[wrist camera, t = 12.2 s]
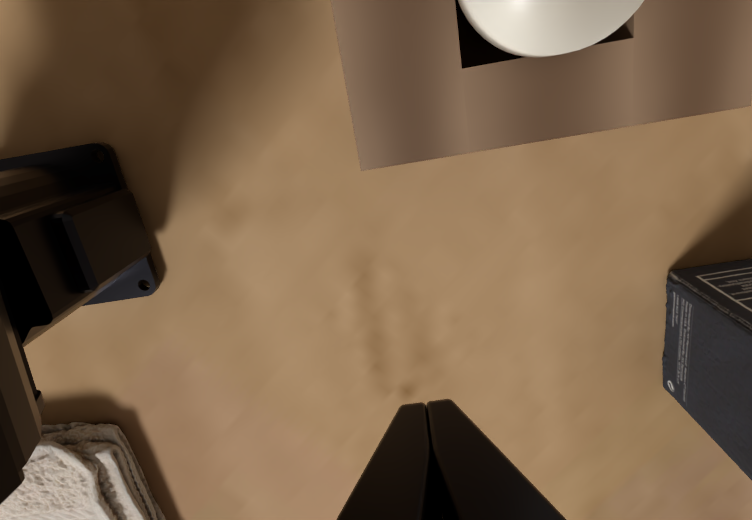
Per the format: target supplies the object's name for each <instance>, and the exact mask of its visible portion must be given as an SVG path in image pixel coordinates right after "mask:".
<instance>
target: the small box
mask: <svg viewBox="0 0 752 520" xmlns="http://www.w3.org/2000/svg"><path fill="white" fill-rule="evenodd" d="M666 290H667V291H666V293H667V303H666V307H667V312H666V329H665V340H664V341H665V347H664V355H663V358H662V360H663V364H662V365H663V387H664V389H666V390H667V391H668V392H669V393H670V394H671V395H672V396H673V397H674V398H675V399H676V400H677V402H678V403H679V404H680V405H681V406H682V407H683V408H684V409H685V410H686V411H687V412H688V413H689V414H690V415H691V416H692V418H693V419H694V420H695V421H696V422H697V423H698V424H699V425H700V426H701V427H702V428H703V429H704V430H705V431H706V432H707V433H708V434H709V435H710V436H711V438H712V439H713V440H714V441H715V442H716V443H717V444H718V445H719V446H720V447H721V448H722V449H723V450H724V451H725V452H726V454H727V455H728V456H729V457H730V458H731V459H732V460H733V461H734V462H735V463H736V464H737V465H738V466H739V467H740V469H741V470H742V471H743V472H744V473H745V474H746V475H747V476H748V477H749V478H750V479H751V480H752V259H747V260H741V261H734V262H726V263H720V264H713V265H706V266H700V267H693V268H687V269H680V270H672V271H671V272H670V274H669V275H668V278H667V284H666Z"/></svg>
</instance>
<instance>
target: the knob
mask: <svg viewBox="0 0 752 520" xmlns="http://www.w3.org/2000/svg"><path fill="white" fill-rule="evenodd" d="M643 1H644V0H458V2H459V5H460V7H461V9H462V11H463V13H464V15H465V17H466V19H467V20H468V22H469V23H470V24H471V26H472V27H473V28H474V29H475V30H476V31H477V32H478V33H479V34H480V35H481V36H482V37H483V38H484V39H485V40H487V41H488V42H489V43H491V44H492V45H494V46H495V47H497V48H499V49H501V50H503V51H505V52H508V53H511V54H514V55H518V56H524V57H539V58H540V57H549V56H555V55H560V54H564V53H569V52H573V51H577V50H580V49H583V48H586V47H588V46H591V45H593V44H595V43H597V42H599V41H600V40H602V39H604V38H606V37H607V36H609V35H610V34H611V33H613V32H614V31H616V30H617V29H618V28H619V27H620V26H622V25H623V24H624V23H625V22H626V21H627V20H628V19H629V18H630V17H631V16H632V15H633V14H634V13H635V12H636V10H637V9H638V8H639V7H640V6H641V4H642V3H643Z"/></svg>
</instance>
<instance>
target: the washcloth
mask: <svg viewBox="0 0 752 520" xmlns="http://www.w3.org/2000/svg"><path fill="white" fill-rule="evenodd" d="M22 469H23V472H24V474H25V479H24V481H23V482H22V484H21V485H20V486H19V487H18V488H17V489H16V490H15V491H14V492H13V493H12V494H11V495H10V496H9V497H8V498H7V499H6V500H5V501H4V502H3V503H2V504H1V505H0V520H166V519H165V517H164V515H163V513H162V511H161V509H160V508H159V506H158V504H157V503H156V502H155V500H154V498H153V496H152V494H151V491H150V489H149V486H148V484H147V482H146V479H145V477H144V474H143V472H142V470H141V467H140V465H139V464H138V462H137V459H136V457H135V455H134V453H133V451H132V449H131V447H130V445H129V443H128V441H127V439H126V437H125V435H124V434H123V433H122V431H121V429H120V428H119V427H118V426H117V425H112V424H98V425H93V424H88V423H82V422H72V423H70V424H69V425H65V424H57V425H41V440H40V441H39V443H38V445H37V446H36V448H35V450H34V452H33V453H32V455H31V457H30V458H29V460H28V462H27V464H26V465H25V466H24V467H23V468H22Z"/></svg>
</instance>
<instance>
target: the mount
mask: <svg viewBox="0 0 752 520" xmlns="http://www.w3.org/2000/svg"><path fill="white" fill-rule="evenodd" d="M331 4H332V10H333V16H334V21H335V27H336V32H337V38H338V44H339V49H340V55H341V61H342V66H343V72H344V78H345V83H346V89H347V94H348V100H349V106H350V111H351V117H352V123H353V128H354V134H355V140H356V145H357V151H358V156H359V162H360V168H361V171H364V170H370V169H376V168H382V167H388V166H394V165H400V164H406V163H412V162H418V161H424V160H430V159H437V158H443V157H449V156H455V155H461V154H467V153H473V152H479V151H485V150H491V149H497V148H503V147H509V146H515V145H521V144H527V143H533V142H539V141H545V140H551V139H557V138H563V137H569V136H575V135H581V134H587V133H593V132H599V131H605V130H611V129H617V128H623V127H629V126H635V125H641V124H647V123H653V122H659V121H665V120H671V119H677V118H683V117H689V116H695V115H701V114H707V113H713V112H719V111H725V110H731V109H737V108H743V107H749V106H751V99H752V0H644V1H643V3H642V4H641V6H640V7H639V8H638V9H637V10H636V12H635V13H634V14H633V15H632V16H631V17H630V18H629V19H628V20H627V21H626V22H625V23H624V24H623V25H622V26H620V27H619V28H618V29H617V30H616V31H614V32H613V33H611V34H610V35H609V36H607V37H606V38H604V39H602V40H600V41H599V42H597V43H595V44H593V45H591V46H588V47H586V48H583V49H580V50H577V51H573V52H569V53H564V54H560V55H555V56H549V57H540V58H539V57H524V58H519V59H513V60H508V61H502V62H497V63H491V64H485V65H480V66H474V67H469V68H463V69H462V66H461V56H460V46H459V35H458V25H457V15H456V5H455V0H331Z"/></svg>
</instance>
